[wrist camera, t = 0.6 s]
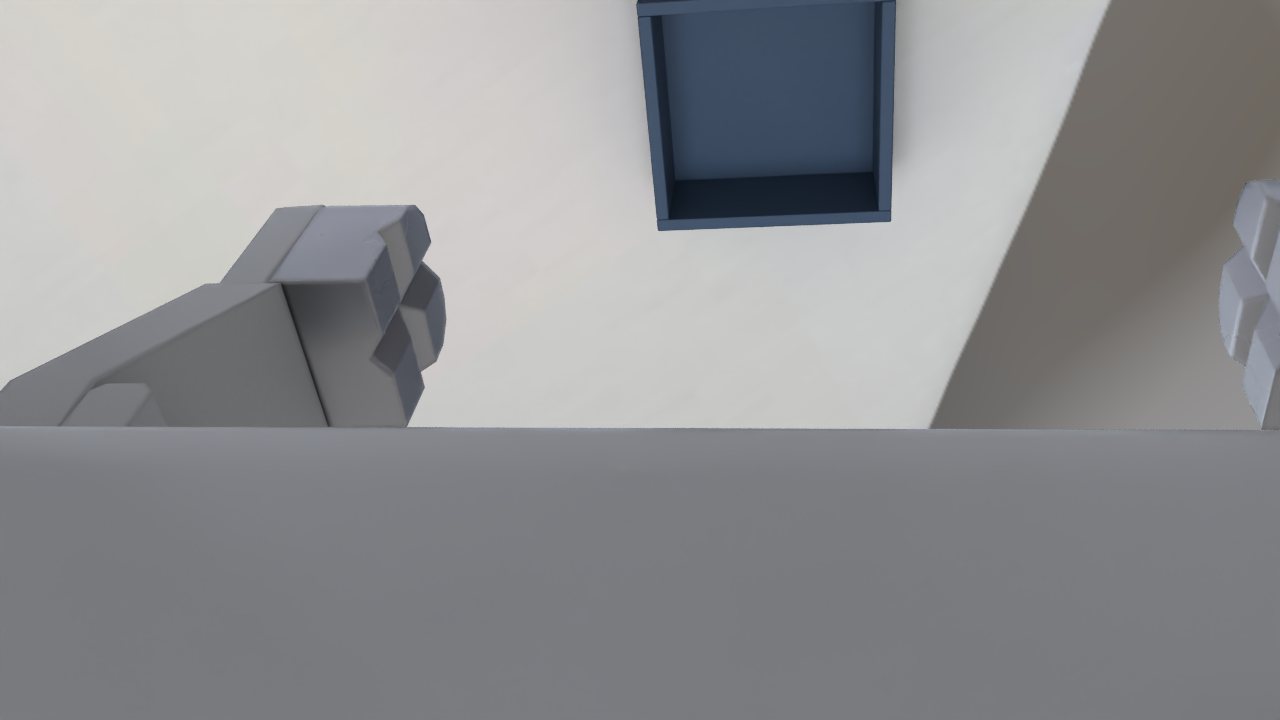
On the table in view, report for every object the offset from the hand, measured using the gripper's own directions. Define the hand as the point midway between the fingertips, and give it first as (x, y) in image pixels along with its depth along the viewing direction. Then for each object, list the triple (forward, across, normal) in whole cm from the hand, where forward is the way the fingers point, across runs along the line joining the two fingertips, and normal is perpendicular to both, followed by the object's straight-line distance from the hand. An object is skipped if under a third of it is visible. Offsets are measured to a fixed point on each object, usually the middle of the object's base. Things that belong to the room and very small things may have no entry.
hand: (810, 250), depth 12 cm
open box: (+46, +3, +18) cm, 49 cm away
